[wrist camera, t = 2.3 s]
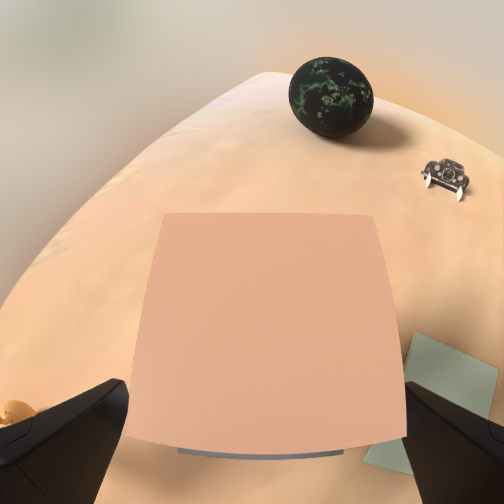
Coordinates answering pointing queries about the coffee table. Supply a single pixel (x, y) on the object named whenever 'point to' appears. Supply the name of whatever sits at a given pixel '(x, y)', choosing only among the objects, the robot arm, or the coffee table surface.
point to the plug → (267, 336)
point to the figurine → (15, 413)
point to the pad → (439, 390)
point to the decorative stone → (331, 97)
